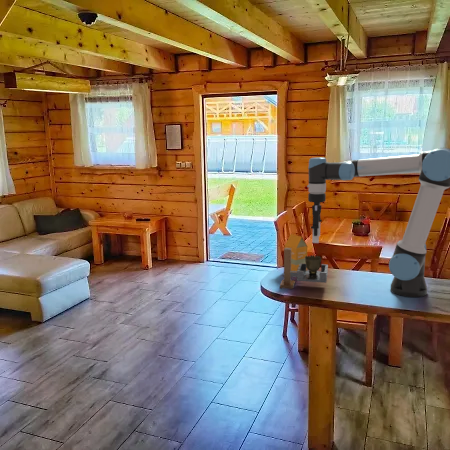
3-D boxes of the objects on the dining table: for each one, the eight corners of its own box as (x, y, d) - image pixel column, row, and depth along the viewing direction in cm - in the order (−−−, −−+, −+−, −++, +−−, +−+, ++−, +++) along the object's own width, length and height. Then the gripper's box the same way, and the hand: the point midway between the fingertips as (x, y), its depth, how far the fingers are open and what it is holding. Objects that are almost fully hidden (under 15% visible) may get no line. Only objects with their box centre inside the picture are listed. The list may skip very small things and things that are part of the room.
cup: (322, 276, 203) (322, 259, 201) (306, 276, 203) (306, 259, 201) (319, 271, 210) (319, 254, 208) (304, 271, 210) (304, 255, 209)
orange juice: (295, 276, 222) (296, 237, 217) (284, 272, 229) (284, 234, 225) (307, 273, 226) (308, 235, 222) (295, 269, 233) (296, 232, 229)
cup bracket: (327, 283, 210) (328, 247, 206) (325, 293, 198) (327, 254, 194) (283, 280, 216) (283, 244, 212) (279, 289, 203) (279, 251, 200)
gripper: (310, 189, 210) (309, 233, 214) (306, 196, 187) (305, 245, 191) (326, 189, 208) (325, 233, 213) (324, 196, 185) (323, 246, 189)
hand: (316, 239), depth 202 cm, fingers open, 13 cm apart
